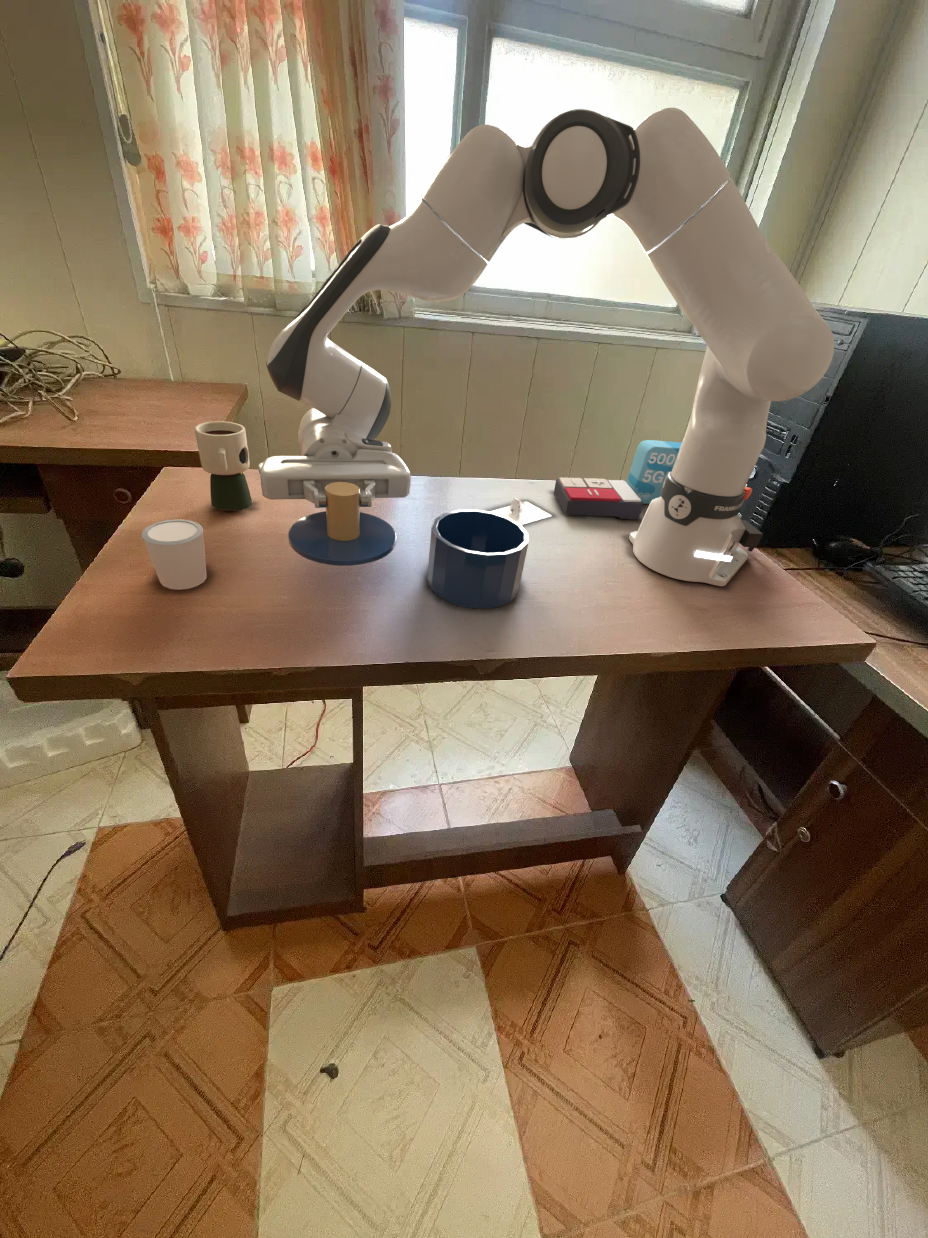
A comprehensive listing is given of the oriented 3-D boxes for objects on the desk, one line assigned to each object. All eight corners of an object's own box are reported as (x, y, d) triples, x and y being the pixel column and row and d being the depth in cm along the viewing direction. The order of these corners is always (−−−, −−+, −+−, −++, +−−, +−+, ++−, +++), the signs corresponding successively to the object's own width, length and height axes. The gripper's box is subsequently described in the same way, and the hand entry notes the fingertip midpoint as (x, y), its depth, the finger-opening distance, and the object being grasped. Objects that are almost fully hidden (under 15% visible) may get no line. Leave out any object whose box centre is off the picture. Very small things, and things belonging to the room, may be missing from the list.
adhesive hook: (506, 512, 98) (509, 496, 96) (516, 509, 100) (519, 494, 98) (517, 518, 97) (520, 503, 95) (527, 516, 98) (530, 500, 96)
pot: (477, 551, 85) (485, 503, 80) (536, 591, 77) (548, 540, 72) (409, 572, 77) (413, 520, 72) (467, 619, 69) (475, 564, 64)
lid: (362, 511, 80) (362, 461, 76) (416, 553, 72) (420, 500, 67) (271, 531, 72) (265, 476, 67) (320, 581, 64) (316, 522, 59)
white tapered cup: (159, 597, 66) (145, 548, 61) (150, 570, 70) (137, 523, 66) (217, 585, 69) (208, 538, 65) (205, 560, 73) (196, 515, 69)
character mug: (256, 520, 84) (245, 440, 77) (207, 522, 82) (191, 439, 74) (254, 492, 92) (245, 417, 85) (210, 493, 90) (196, 416, 82)
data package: (630, 503, 109) (648, 446, 102) (622, 494, 113) (639, 438, 106) (682, 506, 111) (703, 450, 104) (672, 497, 115) (693, 443, 108)
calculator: (556, 475, 107) (626, 477, 108) (552, 494, 109) (621, 496, 111) (569, 497, 98) (645, 499, 100) (565, 518, 101) (639, 519, 102)
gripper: (255, 439, 73) (255, 479, 63) (399, 442, 79) (421, 478, 69) (260, 482, 77) (261, 526, 66) (397, 482, 83) (417, 522, 73)
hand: (344, 502), depth 68 cm, fingers closed on lid, 4 cm apart
